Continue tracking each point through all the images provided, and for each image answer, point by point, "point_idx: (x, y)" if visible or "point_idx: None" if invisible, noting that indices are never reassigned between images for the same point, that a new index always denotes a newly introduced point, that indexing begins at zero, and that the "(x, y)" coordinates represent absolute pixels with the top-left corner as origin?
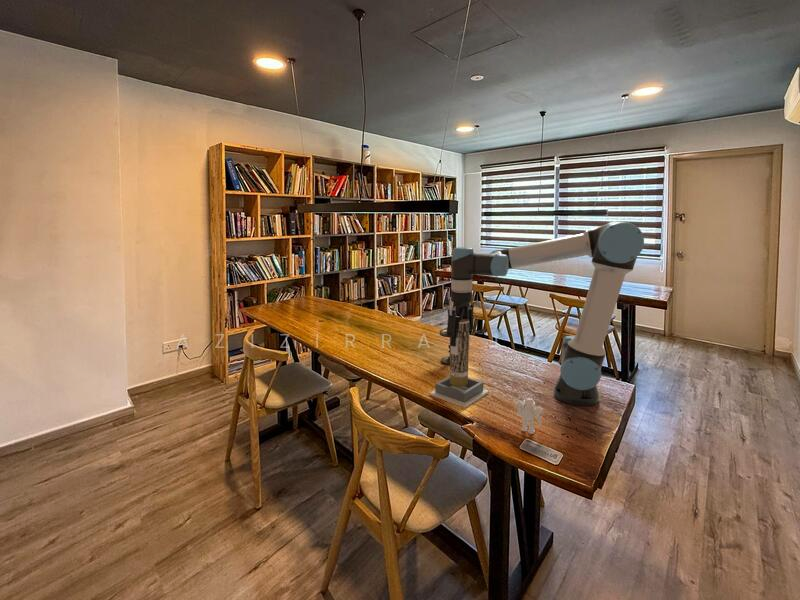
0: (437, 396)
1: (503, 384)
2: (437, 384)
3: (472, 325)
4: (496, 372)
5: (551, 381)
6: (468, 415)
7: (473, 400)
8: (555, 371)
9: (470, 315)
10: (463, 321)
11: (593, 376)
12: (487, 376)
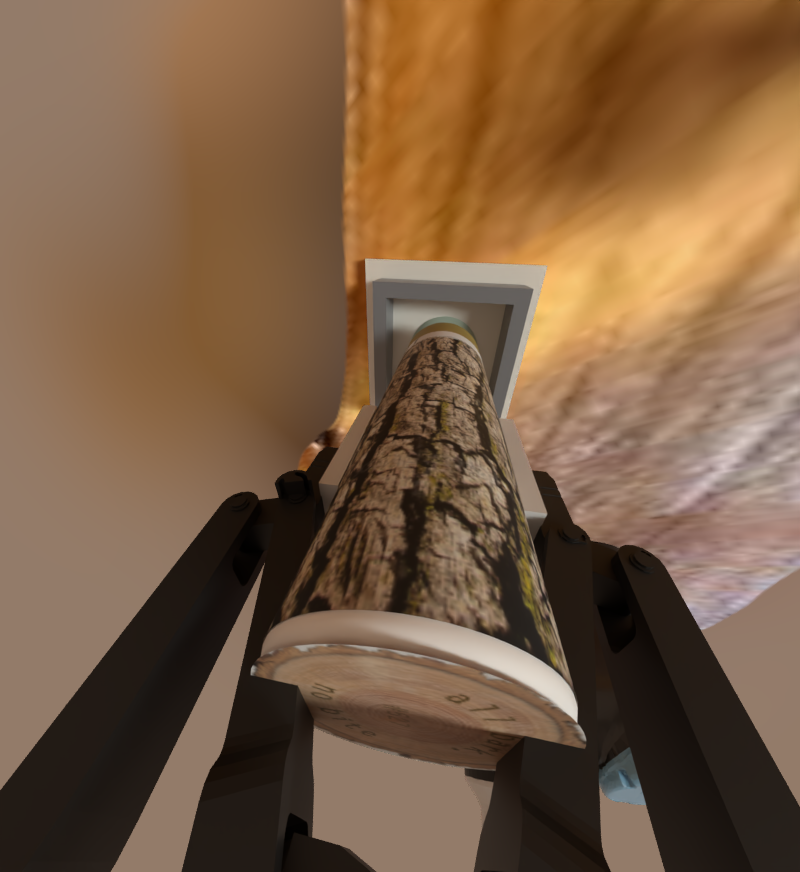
0: (367, 301)
1: (598, 434)
2: (373, 294)
3: (617, 639)
4: (737, 373)
5: (678, 529)
6: (345, 429)
7: None
8: (792, 527)
9: (677, 862)
10: (360, 737)
11: None
12: (669, 360)
